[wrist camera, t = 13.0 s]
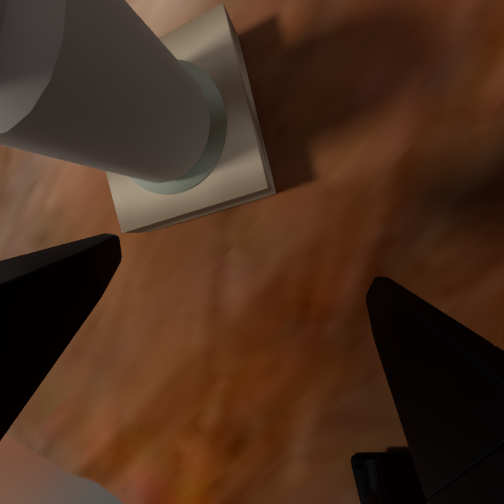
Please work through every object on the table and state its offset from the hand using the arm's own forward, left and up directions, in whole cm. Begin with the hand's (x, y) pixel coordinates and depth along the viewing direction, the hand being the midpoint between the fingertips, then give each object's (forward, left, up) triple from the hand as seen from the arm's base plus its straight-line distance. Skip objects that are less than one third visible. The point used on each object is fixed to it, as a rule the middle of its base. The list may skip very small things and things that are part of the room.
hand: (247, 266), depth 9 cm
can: (+10, +6, -8) cm, 14 cm away
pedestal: (+10, +6, -11) cm, 16 cm away
